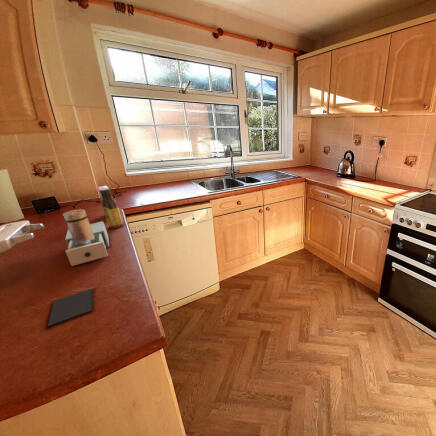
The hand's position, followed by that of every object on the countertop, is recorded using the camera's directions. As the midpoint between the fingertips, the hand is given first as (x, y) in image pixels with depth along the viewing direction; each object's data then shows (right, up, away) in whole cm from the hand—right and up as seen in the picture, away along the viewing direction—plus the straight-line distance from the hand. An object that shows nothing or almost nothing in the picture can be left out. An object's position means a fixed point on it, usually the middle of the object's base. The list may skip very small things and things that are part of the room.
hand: (38, 230), depth 86 cm
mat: (+27, -21, -16) cm, 38 cm away
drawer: (+11, -10, +9) cm, 18 cm away
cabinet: (+4, -7, +19) cm, 20 cm away
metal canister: (+11, -9, +9) cm, 17 cm away
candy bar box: (-12, +6, +53) cm, 54 cm away
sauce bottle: (+1, 0, +38) cm, 38 cm away
